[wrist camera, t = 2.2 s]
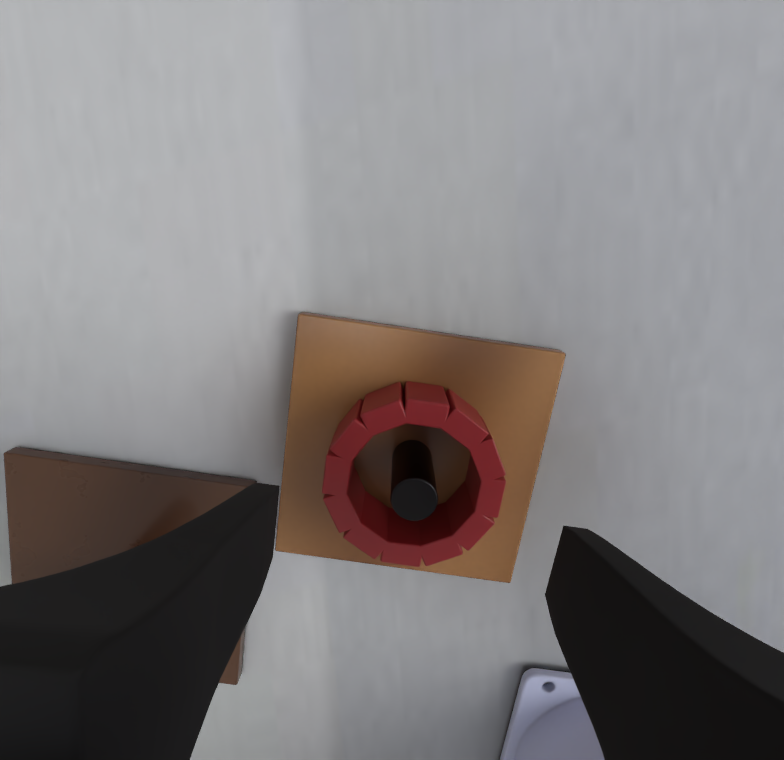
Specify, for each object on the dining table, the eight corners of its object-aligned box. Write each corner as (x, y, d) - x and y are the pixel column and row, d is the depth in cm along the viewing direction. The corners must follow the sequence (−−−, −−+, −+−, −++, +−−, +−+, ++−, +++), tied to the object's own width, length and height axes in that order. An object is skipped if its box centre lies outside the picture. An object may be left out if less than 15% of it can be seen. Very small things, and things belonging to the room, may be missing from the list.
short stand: (561, 350, 16) (604, 375, 13) (507, 573, 19) (531, 646, 15) (301, 311, 16) (274, 326, 13) (278, 542, 18) (250, 608, 15)
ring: (506, 394, 16) (522, 415, 14) (474, 538, 18) (485, 577, 15) (342, 370, 16) (333, 387, 14) (324, 517, 17) (314, 553, 15)
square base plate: (257, 480, 18) (196, 575, 12) (241, 673, 20) (184, 824, 15) (15, 445, 18) (-151, 527, 12) (26, 645, 20) (-110, 787, 15)
